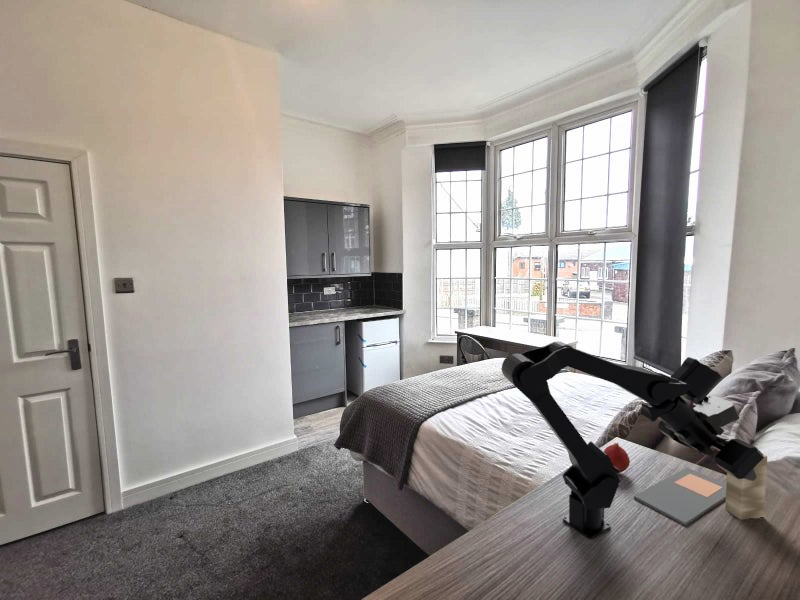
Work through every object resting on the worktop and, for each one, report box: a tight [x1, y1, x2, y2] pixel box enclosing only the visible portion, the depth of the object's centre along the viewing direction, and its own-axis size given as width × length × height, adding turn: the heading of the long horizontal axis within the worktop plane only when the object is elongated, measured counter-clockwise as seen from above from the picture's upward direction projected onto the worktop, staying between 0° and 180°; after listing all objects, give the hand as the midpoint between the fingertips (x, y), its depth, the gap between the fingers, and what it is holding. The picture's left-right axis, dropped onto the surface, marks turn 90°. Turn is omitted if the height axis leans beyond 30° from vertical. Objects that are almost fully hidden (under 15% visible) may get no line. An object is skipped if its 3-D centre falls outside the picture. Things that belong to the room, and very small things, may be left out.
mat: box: [633, 467, 727, 526], centre depth 82 cm, size 22×10×1 cm, turn 117°
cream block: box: [725, 453, 768, 520], centre depth 75 cm, size 5×3×13 cm, turn 92°
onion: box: [603, 442, 631, 475], centre depth 91 cm, size 6×6×8 cm
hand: (731, 465), depth 75 cm, fingers open, 9 cm apart
